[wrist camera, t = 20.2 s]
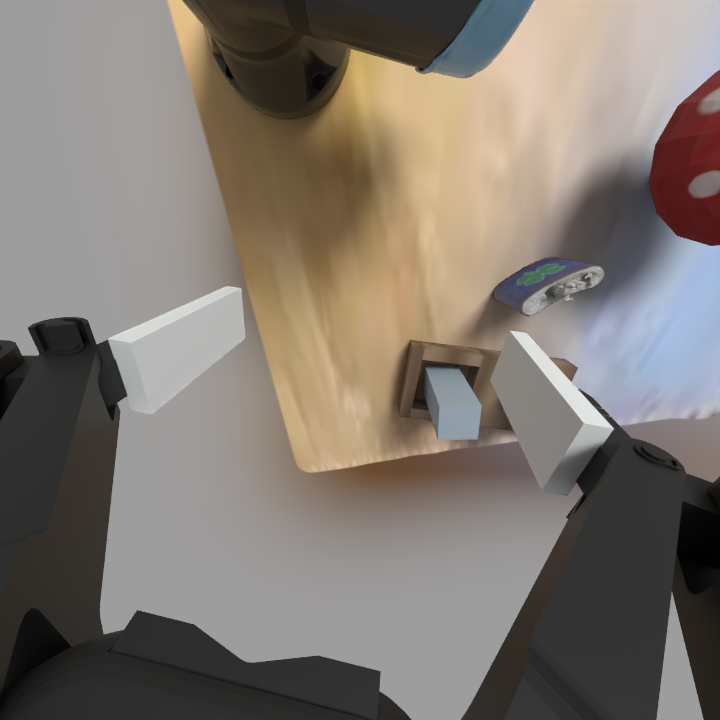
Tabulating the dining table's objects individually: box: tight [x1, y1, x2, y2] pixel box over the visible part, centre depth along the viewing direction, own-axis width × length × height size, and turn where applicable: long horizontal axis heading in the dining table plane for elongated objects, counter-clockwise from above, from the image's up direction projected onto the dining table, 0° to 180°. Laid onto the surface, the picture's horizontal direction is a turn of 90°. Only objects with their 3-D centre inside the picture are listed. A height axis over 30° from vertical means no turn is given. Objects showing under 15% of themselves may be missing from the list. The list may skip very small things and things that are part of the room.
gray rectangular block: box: [424, 365, 482, 440], centre depth 42 cm, size 5×5×12 cm
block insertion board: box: [398, 340, 578, 431], centre depth 42 cm, size 24×12×12 cm, turn 83°
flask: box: [494, 257, 605, 316], centre depth 36 cm, size 9×3×11 cm, turn 121°
